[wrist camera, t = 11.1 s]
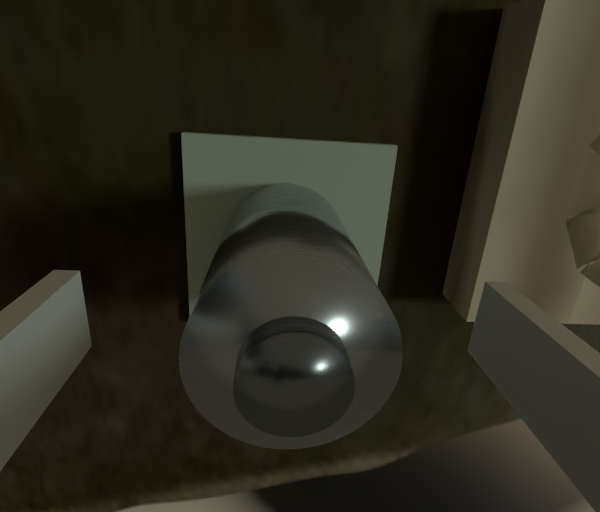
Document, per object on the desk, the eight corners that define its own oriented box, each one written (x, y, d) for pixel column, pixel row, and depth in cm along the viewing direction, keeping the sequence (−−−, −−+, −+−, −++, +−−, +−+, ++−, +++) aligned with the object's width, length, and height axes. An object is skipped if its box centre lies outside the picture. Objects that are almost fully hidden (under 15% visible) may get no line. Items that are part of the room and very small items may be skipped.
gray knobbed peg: (224, 293, 21) (175, 480, 10) (224, 179, 19) (160, 274, 8) (337, 296, 21) (395, 478, 11) (349, 186, 19) (436, 283, 9)
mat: (192, 319, 22) (189, 325, 21) (184, 132, 18) (181, 132, 18) (368, 323, 23) (371, 328, 22) (394, 144, 19) (397, 145, 18)
